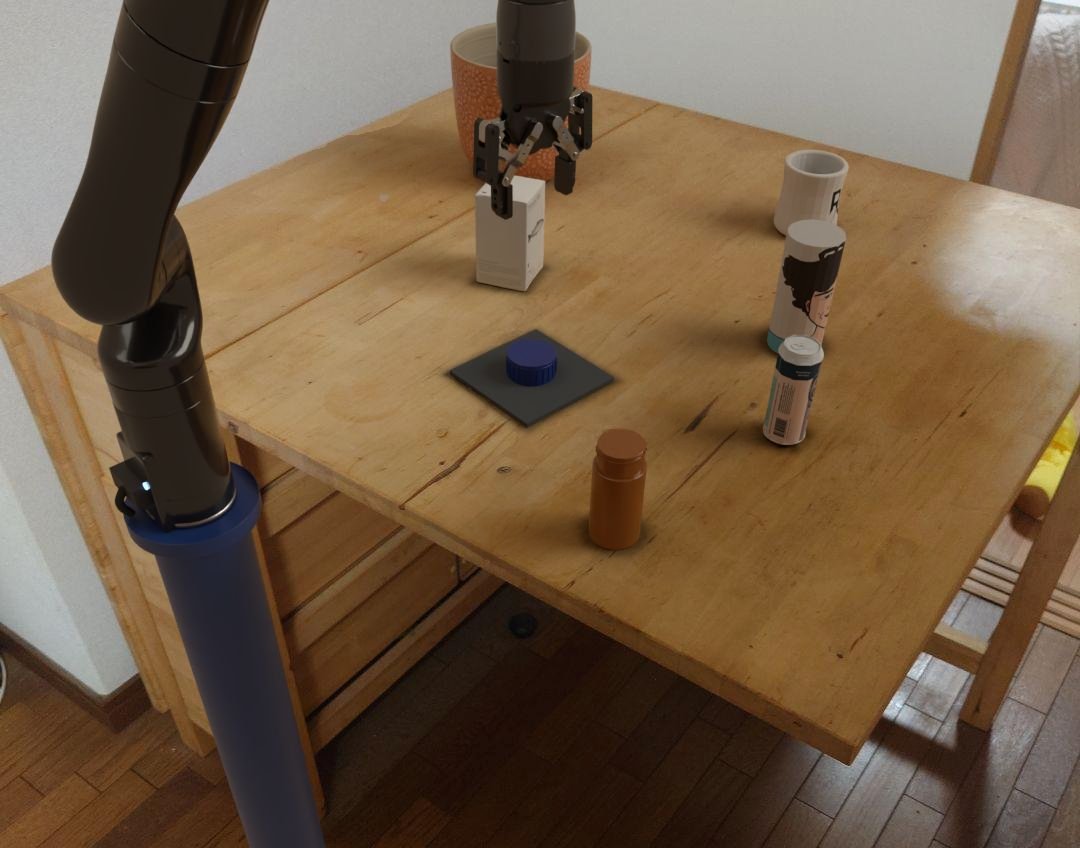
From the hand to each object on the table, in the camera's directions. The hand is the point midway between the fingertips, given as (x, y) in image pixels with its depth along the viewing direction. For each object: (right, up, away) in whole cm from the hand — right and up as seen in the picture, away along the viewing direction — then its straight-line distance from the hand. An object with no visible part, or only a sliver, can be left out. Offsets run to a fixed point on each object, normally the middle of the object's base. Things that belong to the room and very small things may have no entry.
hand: (533, 204), depth 113 cm
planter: (-2, +23, +57) cm, 62 cm away
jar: (+8, -35, -4) cm, 36 cm away
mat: (0, -16, +15) cm, 22 cm away
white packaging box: (-3, 0, +33) cm, 33 cm away
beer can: (+28, -24, +8) cm, 38 cm away
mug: (+40, +11, +45) cm, 61 cm away
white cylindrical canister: (+33, -11, +22) cm, 41 cm away
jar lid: (0, -14, +13) cm, 19 cm away
